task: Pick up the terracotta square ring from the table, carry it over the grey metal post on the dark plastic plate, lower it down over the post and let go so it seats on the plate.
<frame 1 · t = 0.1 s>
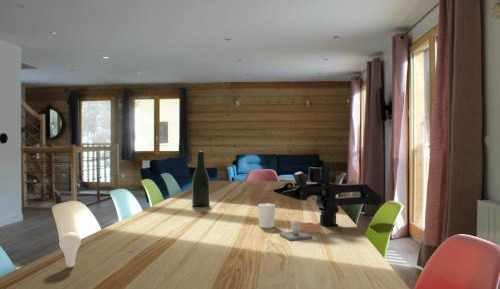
hand: (277, 192, 176), 17 cm above the table, tool horizontal, fingers open, 9 cm apart
ring: (309, 231, 172), on the table
lightbulb: (70, 268, 125), on the table
dark green wine bottle: (201, 206, 240), on the table
white cup: (266, 227, 182), on the table
post plate: (295, 236, 162), on the table
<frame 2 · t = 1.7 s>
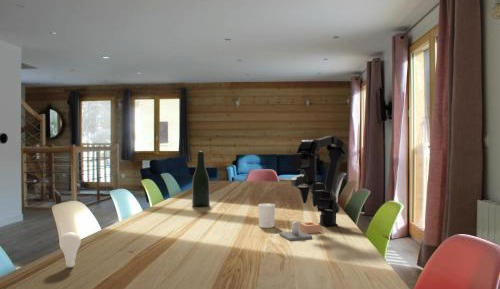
hand: (309, 204, 172), 11 cm above the table, tool pointing down, fingers open, 9 cm apart
nothing on the table moved.
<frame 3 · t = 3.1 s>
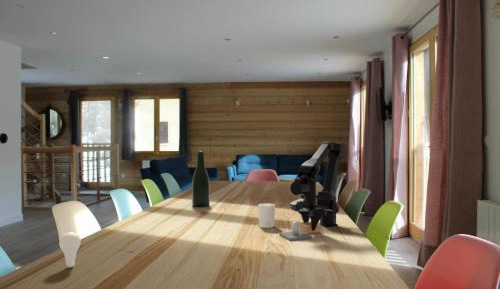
hand: (309, 228, 172), 1 cm above the table, tool pointing down, fingers closed on ring, 6 cm apart
ring: (309, 231, 172), on the table, touching gripper
everything else where it was.
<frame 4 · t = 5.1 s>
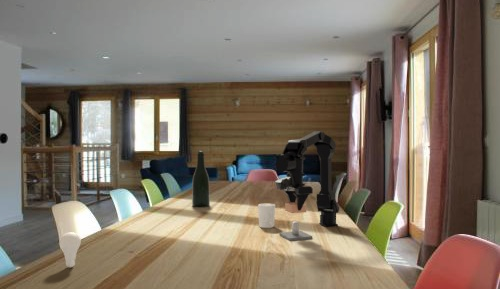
hand: (295, 209, 162), 11 cm above the table, tool pointing down, fingers closed on ring, 6 cm apart
ring: (295, 211, 162), point 10 cm above the table, touching gripper
everything else where it was.
when the fingers open (3 cm above the table, at t = 7.0 s): ring drops 1 cm, resting on post plate.
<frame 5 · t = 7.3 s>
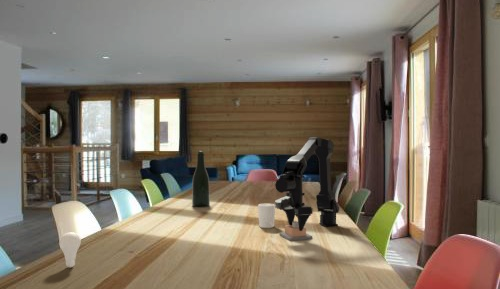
hand: (295, 228, 162), 3 cm above the table, tool pointing down, fingers open, 9 cm apart
ring: (295, 234, 162), point 1 cm above the table, touching post plate
everything else where it was.
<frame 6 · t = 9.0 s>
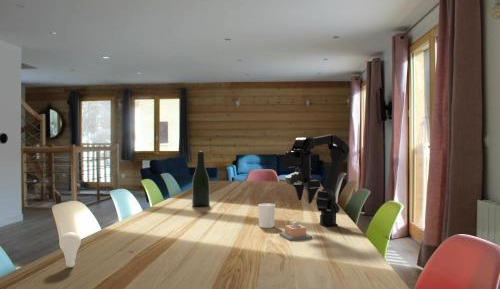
hand: (304, 201, 174), 12 cm above the table, tool pointing down, fingers open, 9 cm apart
nothing on the table moved.
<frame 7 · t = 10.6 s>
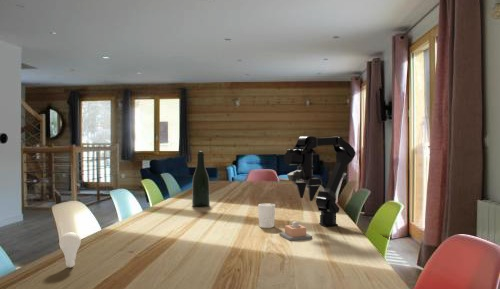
hand: (306, 199, 177), 13 cm above the table, tool pointing down, fingers open, 9 cm apart
nothing on the table moved.
at the end: ring 0.0 cm off-centre on the post plate, point 1.0 cm above the post plate's base; the gripper is holding nothing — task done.
